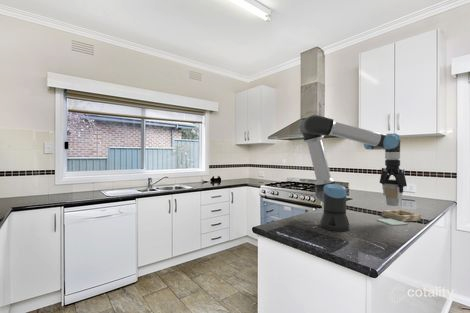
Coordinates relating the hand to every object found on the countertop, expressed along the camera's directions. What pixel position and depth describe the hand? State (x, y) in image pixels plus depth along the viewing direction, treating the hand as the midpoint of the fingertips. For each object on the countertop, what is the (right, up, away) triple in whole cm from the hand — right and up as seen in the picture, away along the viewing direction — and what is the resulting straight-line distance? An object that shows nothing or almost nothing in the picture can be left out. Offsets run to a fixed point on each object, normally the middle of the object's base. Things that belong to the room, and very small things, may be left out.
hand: (392, 196), depth 142 cm
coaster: (0, -16, 0) cm, 16 cm away
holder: (+12, -15, +10) cm, 22 cm away
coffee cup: (0, -5, 0) cm, 5 cm away
